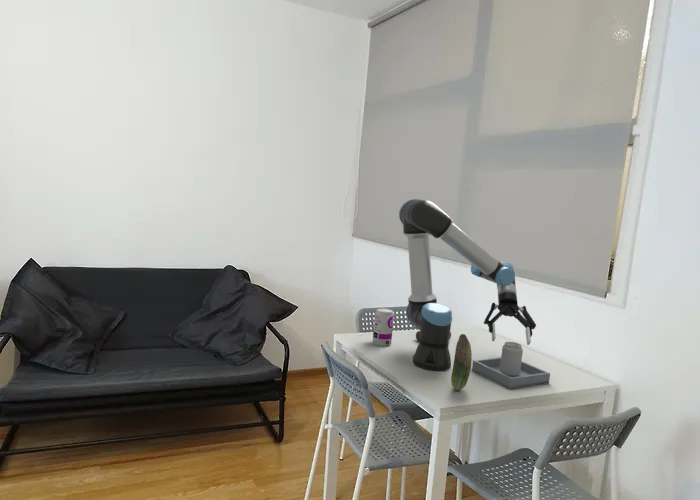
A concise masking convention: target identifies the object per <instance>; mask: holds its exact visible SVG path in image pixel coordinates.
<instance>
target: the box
mask: <svg viewBox="0 0 700 500" xmlns="http://www.w3.org/2000/svg"><path fill="white" fill-rule="evenodd" d="M500 363H501V356H500V357H493V358H484V359H483V358H482V359H476V360H475V359H474V360H473V359H472V364H471V371H472V372H475V373H476V374H478V375H480V376H482V377H484V378H486V379H489V380H490V381H492V382H494V383H496V384H498V385H501V386H502V387H503V388H506V389H508V390H516V389H521V388H522V389H523V388H529V387H536V386H541V385H548V384H550V377H551V376H550V375H551V373H550V372H548V371H546V370H543V369H541V368H539V367H536V366H535V365H532V364H529V363H527V362H525V361H521V369H520V375H518V376H517V377H510V376H507V375H505V374H503V373H501V372H500Z"/></svg>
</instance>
